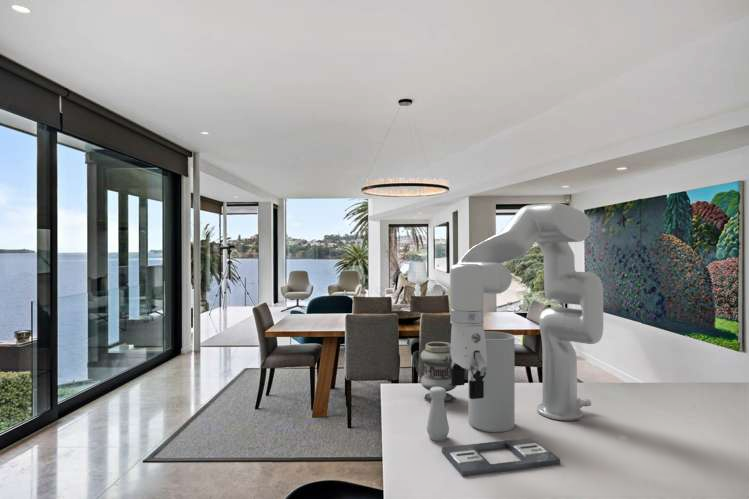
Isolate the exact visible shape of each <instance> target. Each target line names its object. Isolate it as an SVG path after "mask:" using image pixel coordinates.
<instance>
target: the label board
mask: <svg viewBox="0 0 749 499" xmlns="http://www.w3.org/2000/svg"><path fill="white" fill-rule="evenodd" d="M501 449H502V450H503V449H507V450H508V451H510V453H511V454H513V455H514V456H516V457H517V458H518V459H519V460H515V461H507V462H497V463H491V462H489V461H488V459H486V457H485V456H483V455H482V454H481V453H480V452H484V451H492V450H501ZM441 454H442V455H444V457H445V458H446V459H447V460H448V461H449V463H450V464H451V465H452V467H454V469H456V471H457V472H458V474H460V476H461V477H462V478H463V477H473V476H481V475H487V474H489V475H490V474H495V473H502V472H503V473H504V472H511V471H520V470H529V469H535V468H536V469H537V468H541V467H542V468H543V467H549V466H559V465H561V458H560V457H558V456H556V455H555V454H554V453H552V452H551V451H549V450H548V449H547V448H546V447H544V446H542V445H541V444H540V443H539V442H538V441H536V440H534V439H533V438H531V437H525V438H517V439H515V438H513V439H508V440H498V441H497V440H496V441H490V442H489V441H488V442H480V443H479V442H478V443H470V444H462V445H453V446H452V445H451V446H444V447H443V446H442V447H441Z"/></svg>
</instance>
